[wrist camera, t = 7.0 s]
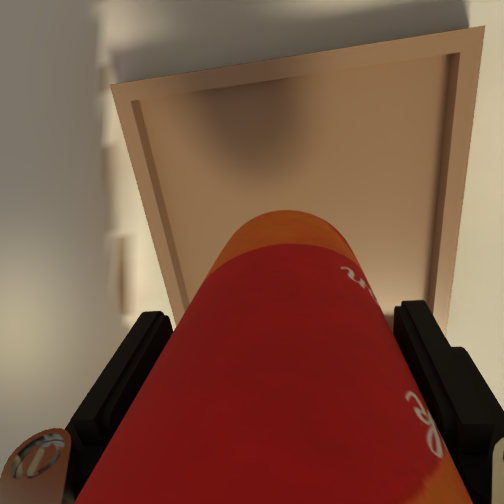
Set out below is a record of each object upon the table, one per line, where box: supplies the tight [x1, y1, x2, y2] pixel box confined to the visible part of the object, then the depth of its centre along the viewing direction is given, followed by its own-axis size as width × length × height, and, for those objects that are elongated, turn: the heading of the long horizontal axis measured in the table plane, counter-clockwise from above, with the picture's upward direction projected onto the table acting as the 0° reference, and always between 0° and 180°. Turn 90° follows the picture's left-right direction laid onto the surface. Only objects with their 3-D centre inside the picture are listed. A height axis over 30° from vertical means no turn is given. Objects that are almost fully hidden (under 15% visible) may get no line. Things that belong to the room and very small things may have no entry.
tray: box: [110, 26, 485, 337], centre depth 19 cm, size 16×16×1 cm
